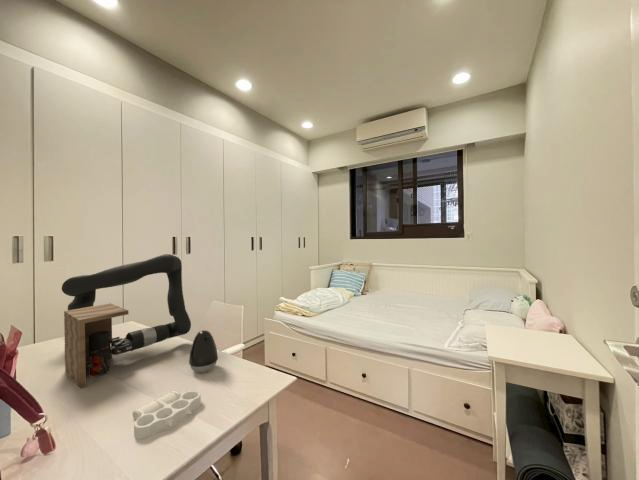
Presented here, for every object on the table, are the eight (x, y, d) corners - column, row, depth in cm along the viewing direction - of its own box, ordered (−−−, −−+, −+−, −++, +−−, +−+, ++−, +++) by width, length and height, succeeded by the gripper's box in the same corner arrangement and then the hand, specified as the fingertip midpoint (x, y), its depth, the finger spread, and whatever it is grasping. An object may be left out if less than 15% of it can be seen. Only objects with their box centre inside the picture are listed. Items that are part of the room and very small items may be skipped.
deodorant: (113, 369, 105) (112, 331, 104) (99, 376, 99) (99, 336, 98) (99, 368, 105) (99, 330, 105) (85, 376, 99) (84, 336, 99)
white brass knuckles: (182, 393, 89) (210, 407, 81) (119, 426, 73) (146, 448, 66) (182, 383, 89) (210, 396, 81) (119, 414, 73) (146, 434, 66)
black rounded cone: (194, 379, 96) (193, 337, 96) (186, 369, 104) (185, 330, 104) (222, 370, 103) (221, 331, 103) (212, 360, 111) (212, 324, 111)
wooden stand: (65, 372, 102) (64, 311, 102) (111, 357, 114) (110, 303, 114) (80, 388, 91) (78, 320, 91) (129, 370, 103) (128, 310, 103)
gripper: (134, 326, 118) (86, 338, 104) (148, 333, 109) (99, 346, 96) (134, 343, 118) (87, 357, 104) (149, 351, 109) (99, 367, 96)
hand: (93, 352), depth 100 cm, fingers open, 8 cm apart
